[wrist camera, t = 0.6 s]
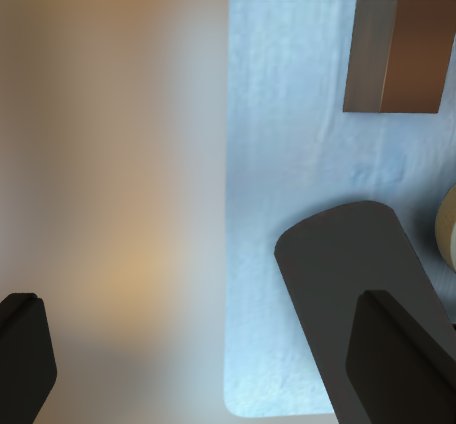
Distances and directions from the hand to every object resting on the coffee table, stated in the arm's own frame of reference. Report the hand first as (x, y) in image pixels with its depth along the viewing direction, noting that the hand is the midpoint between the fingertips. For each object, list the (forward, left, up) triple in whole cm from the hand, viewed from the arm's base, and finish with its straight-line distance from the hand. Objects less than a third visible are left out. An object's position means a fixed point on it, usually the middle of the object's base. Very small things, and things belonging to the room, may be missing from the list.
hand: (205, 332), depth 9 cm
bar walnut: (-12, +11, -15) cm, 22 cm away
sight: (+8, +11, -8) cm, 16 cm away
